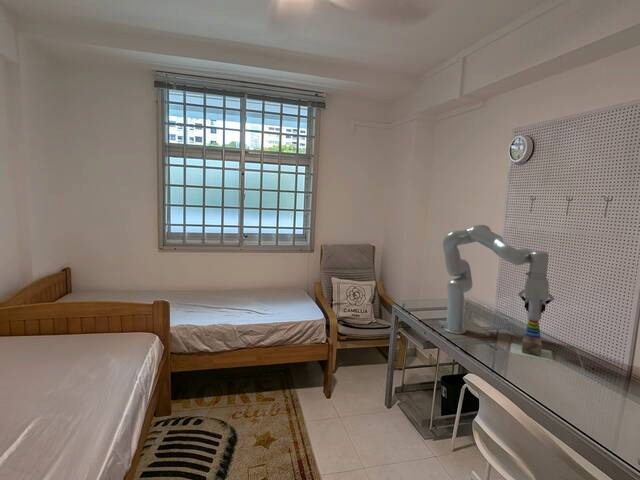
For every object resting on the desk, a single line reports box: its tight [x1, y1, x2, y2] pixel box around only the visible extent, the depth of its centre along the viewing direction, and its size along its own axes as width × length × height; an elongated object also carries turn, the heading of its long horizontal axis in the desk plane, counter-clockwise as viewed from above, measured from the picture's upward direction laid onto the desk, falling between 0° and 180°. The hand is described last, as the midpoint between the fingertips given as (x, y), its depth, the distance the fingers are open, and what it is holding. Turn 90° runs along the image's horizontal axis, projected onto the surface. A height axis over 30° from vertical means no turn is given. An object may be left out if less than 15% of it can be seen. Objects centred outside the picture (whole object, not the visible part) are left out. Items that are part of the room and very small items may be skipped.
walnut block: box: [521, 335, 543, 357], centre depth 173 cm, size 8×8×6 cm
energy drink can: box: [526, 294, 543, 322], centre depth 171 cm, size 6×6×15 cm
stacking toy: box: [524, 318, 542, 340], centre depth 187 cm, size 8×8×19 cm
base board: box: [510, 342, 554, 362], centre depth 174 cm, size 18×13×1 cm
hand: (534, 310), depth 171 cm, fingers closed on energy drink can, 6 cm apart
